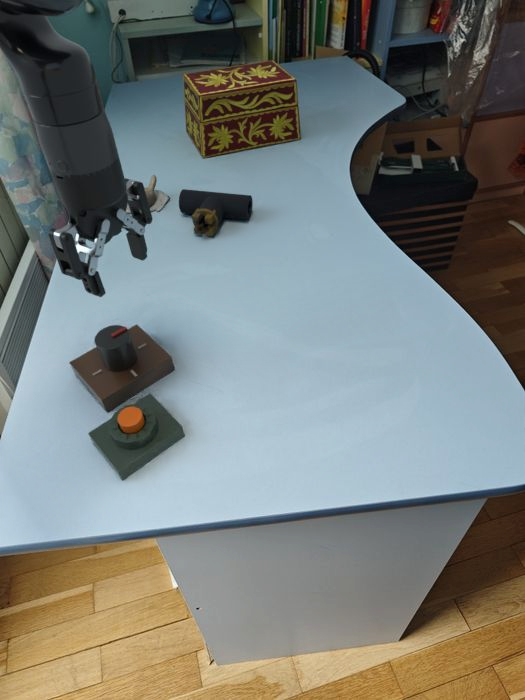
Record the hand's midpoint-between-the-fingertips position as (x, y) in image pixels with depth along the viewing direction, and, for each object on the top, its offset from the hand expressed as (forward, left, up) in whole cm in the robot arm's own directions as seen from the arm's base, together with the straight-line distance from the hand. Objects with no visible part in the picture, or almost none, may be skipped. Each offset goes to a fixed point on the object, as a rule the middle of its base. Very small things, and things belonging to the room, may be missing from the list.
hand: (119, 275), depth 64 cm
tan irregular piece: (+26, +43, -18) cm, 53 cm away
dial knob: (-4, +1, -14) cm, 15 cm away
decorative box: (+65, +54, -18) cm, 86 cm away
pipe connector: (+32, +25, -18) cm, 44 cm away
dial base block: (-4, +1, -17) cm, 18 cm away
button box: (-9, -11, -17) cm, 23 cm away
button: (-9, -11, -14) cm, 20 cm away
